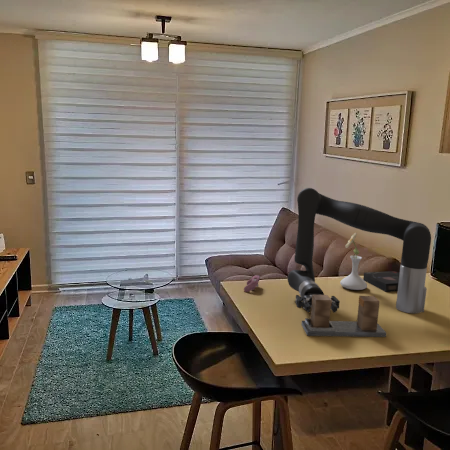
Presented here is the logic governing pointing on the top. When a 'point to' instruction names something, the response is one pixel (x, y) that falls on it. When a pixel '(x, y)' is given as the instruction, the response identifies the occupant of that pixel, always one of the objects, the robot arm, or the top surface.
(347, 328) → the rail
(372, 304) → the block
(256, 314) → the top surface
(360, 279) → the flower in vase
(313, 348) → the top surface
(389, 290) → the portable cd player
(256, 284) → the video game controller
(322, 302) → the walnut finger
